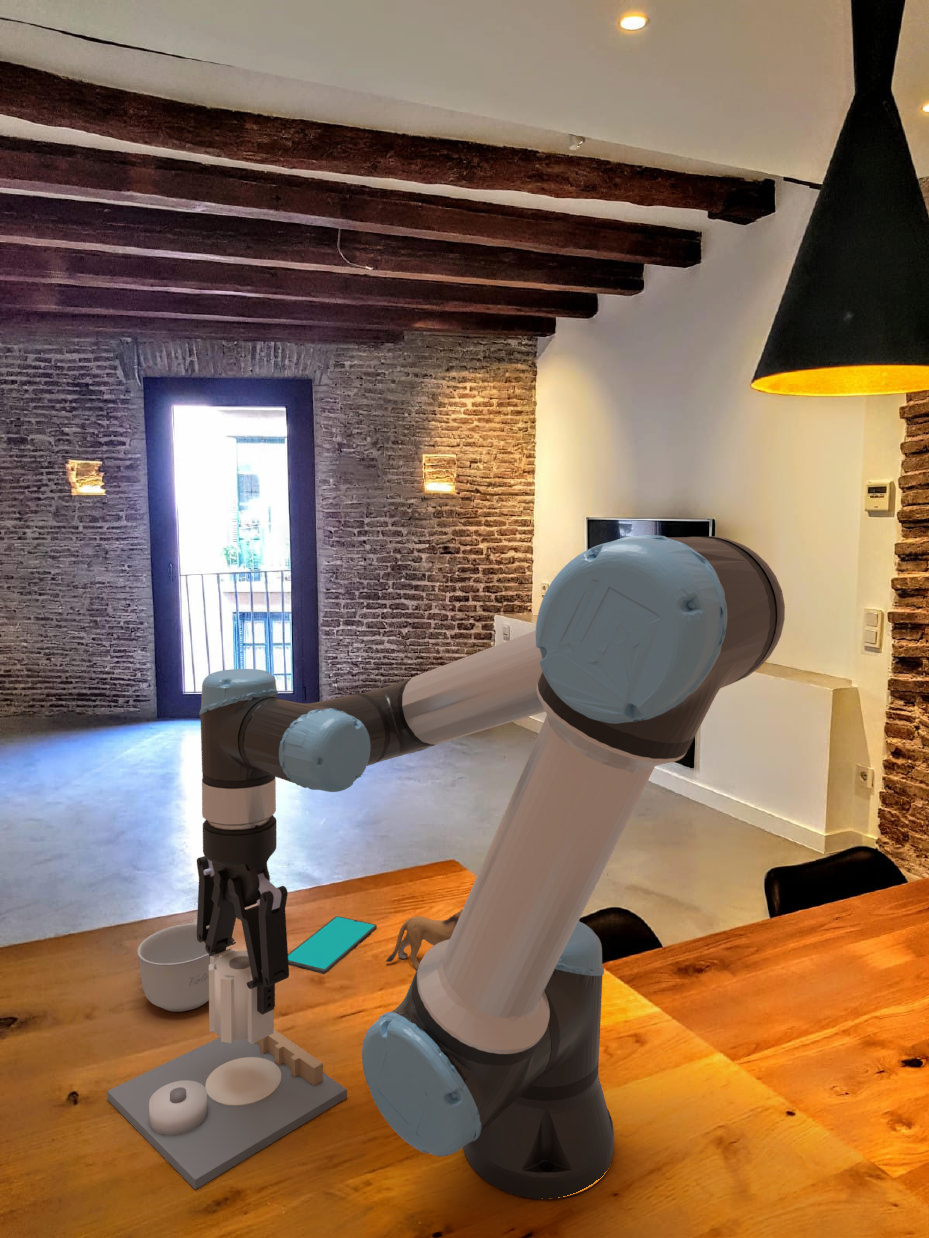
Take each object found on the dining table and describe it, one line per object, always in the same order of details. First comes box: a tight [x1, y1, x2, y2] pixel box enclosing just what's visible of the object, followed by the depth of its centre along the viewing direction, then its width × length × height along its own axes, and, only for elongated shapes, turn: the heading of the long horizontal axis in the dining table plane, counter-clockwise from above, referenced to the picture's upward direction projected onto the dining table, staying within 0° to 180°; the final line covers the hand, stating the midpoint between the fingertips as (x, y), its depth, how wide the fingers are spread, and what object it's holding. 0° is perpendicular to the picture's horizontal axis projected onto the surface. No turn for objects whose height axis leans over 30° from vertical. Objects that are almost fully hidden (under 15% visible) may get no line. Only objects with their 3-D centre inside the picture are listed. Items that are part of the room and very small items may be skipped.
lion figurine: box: [385, 908, 463, 970], centre depth 122 cm, size 15×5×9 cm, turn 96°
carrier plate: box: [106, 1028, 348, 1190], centre depth 93 cm, size 18×18×4 cm
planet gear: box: [208, 949, 253, 1043], centre depth 94 cm, size 7×6×7 cm
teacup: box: [136, 917, 210, 1013], centre depth 114 cm, size 14×11×8 cm
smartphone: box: [288, 915, 378, 975], centre depth 127 cm, size 7×1×15 cm
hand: (241, 1022), depth 94 cm, fingers closed on planet gear, 7 cm apart
